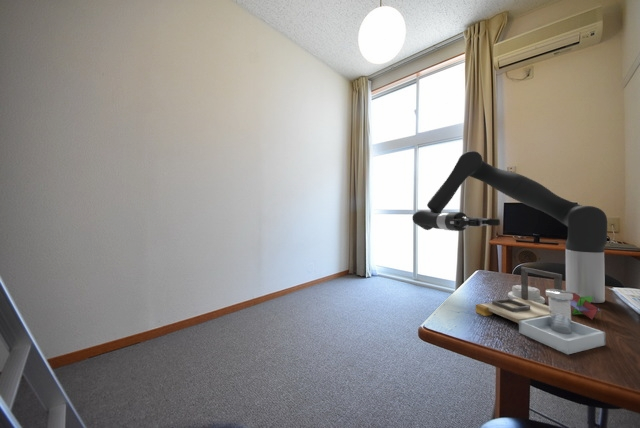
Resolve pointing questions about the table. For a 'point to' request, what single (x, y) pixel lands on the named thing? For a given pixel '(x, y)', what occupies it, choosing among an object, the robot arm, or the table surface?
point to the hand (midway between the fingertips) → (489, 222)
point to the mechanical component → (532, 294)
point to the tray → (562, 335)
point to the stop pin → (560, 310)
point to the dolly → (520, 300)
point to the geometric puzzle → (583, 305)
